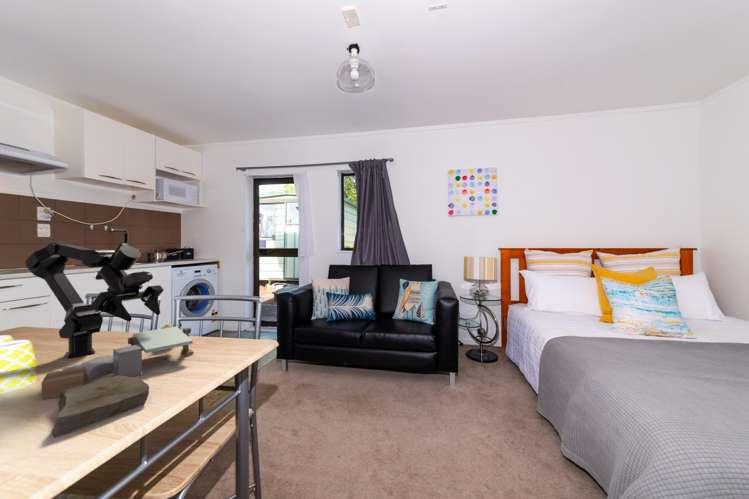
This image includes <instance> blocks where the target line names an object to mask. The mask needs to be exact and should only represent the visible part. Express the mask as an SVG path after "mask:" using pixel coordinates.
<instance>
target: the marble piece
mask: <svg viewBox="0 0 749 499" xmlns="http://www.w3.org/2000/svg"><path fill="white" fill-rule="evenodd" d="M149 395H150V386H149V384H148V383H146V381H144V380H143V379H141V378H139V377H127V376H122V375H121V376H114V377H113V376H111V377H107V378H104V379H101V380H97V381H94V382H91V383H87V384H86V383H85V385H82V386H78V387H74V388H70V389H67V390H63V391H62V392H61V393H60V396H59V400H58V413H57V416H56V418H55V423H54V424H53V428H52V431H51V434H52V435H53V436H54V437H61V436H64V435H66V434H68V433H71V432H76V431H77V430H80V429H83V428H85V427H88V426H91V425H93V424H96V423H99V422H102V421H105V420H108V419H110V418H112V417H116V416H118V415H121V414H123V413H126V412H128V411H131V410H134V409H138V408H140V407H142V406H145V405H146V404H145V403H146V402H147V400H148V397H149Z"/></svg>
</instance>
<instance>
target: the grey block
mask: <svg viewBox="0 0 749 499" xmlns="http://www.w3.org/2000/svg"><path fill="white" fill-rule="evenodd" d="M112 352H113V354H112V355H113V372H112V377H114V376H121V375H122V376H127V377H135V378H139V377H142V376H143V375H142V374H143V372H142V371H143V370H142V369H143V359H142V357H143V354H142V353H143V351H142V348H140V347H139V346H137V345H133V346H131V345H129V346H122V347H118V348H114V349H112ZM141 375H142V376H141Z"/></svg>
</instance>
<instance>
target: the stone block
mask: <svg viewBox="0 0 749 499" xmlns="http://www.w3.org/2000/svg"><path fill="white" fill-rule="evenodd" d="M80 367H86V383H87V382H91V381H94V380H96V379H99V378H101V377H104V376H106V375H108V374H110V373H113V354H108V355H104V356H103V355H101V356H98V357H95V358H91V359H89V360H86V361H84V362H81V363H80V364H75V365H72V366H68V367H65V368H63V369H62V370H68V369H74V368H80Z"/></svg>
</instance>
